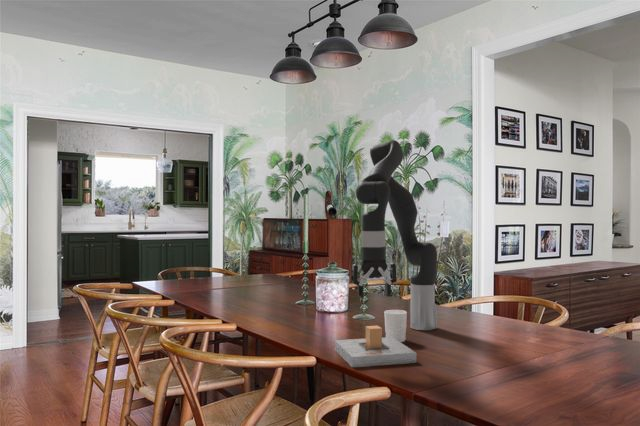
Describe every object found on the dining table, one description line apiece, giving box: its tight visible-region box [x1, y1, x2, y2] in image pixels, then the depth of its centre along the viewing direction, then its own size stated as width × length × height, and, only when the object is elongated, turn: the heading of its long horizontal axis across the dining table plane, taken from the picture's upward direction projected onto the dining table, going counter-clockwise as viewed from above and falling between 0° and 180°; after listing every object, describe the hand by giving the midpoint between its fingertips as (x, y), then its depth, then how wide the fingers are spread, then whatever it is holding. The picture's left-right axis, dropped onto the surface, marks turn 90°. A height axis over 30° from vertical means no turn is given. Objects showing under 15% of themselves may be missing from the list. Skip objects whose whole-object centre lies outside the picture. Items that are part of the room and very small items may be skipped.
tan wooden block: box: [365, 325, 383, 348], centre depth 159 cm, size 4×4×9 cm
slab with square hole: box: [334, 336, 417, 368], centre depth 159 cm, size 20×20×3 cm
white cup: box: [383, 309, 408, 343], centre depth 179 cm, size 8×8×10 cm
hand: (374, 297), depth 159 cm, fingers open, 8 cm apart
